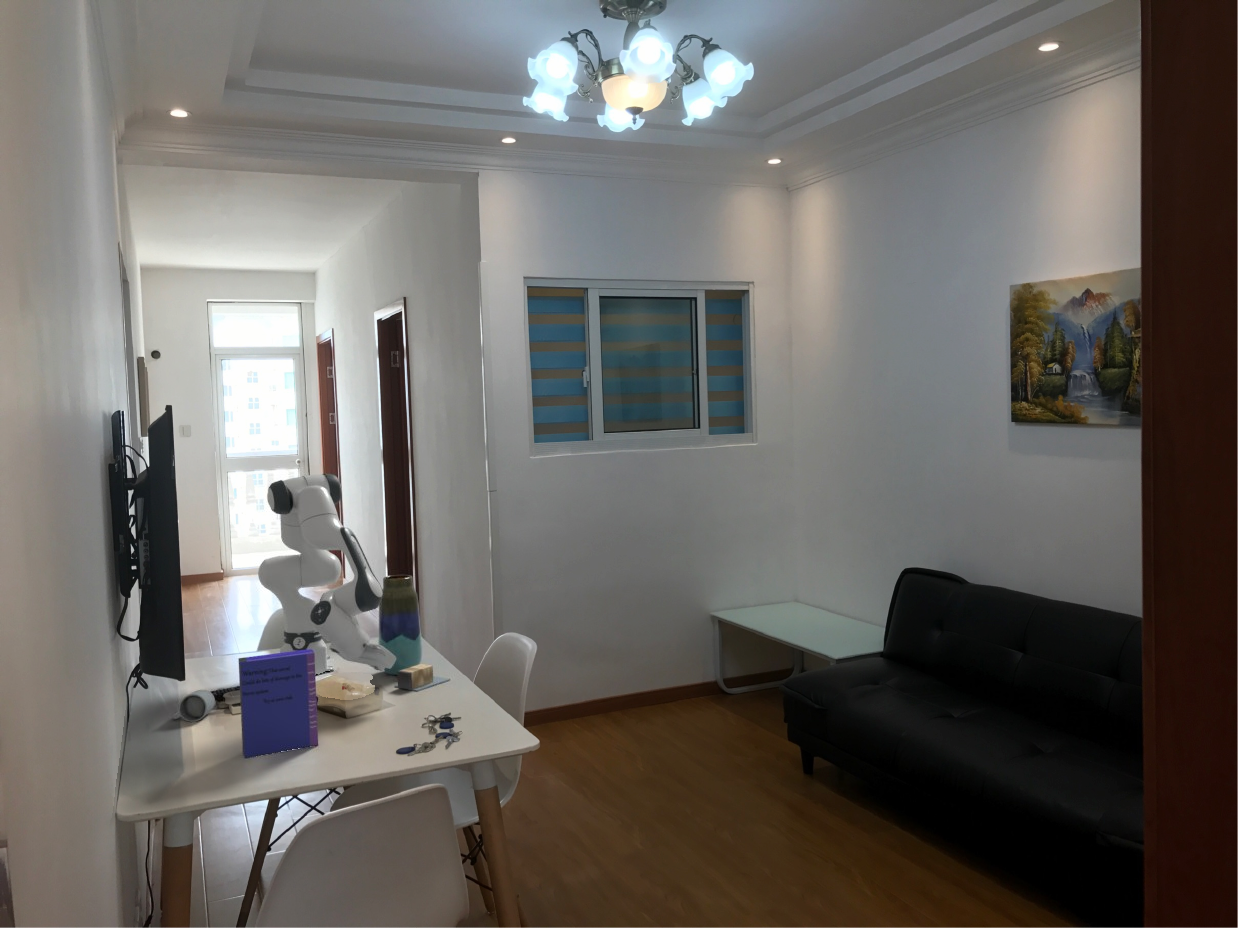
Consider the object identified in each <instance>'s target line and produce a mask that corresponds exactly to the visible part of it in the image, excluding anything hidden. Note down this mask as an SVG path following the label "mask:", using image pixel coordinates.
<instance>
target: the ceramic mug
mask: <svg viewBox="0 0 1238 928" xmlns="http://www.w3.org/2000/svg"><path fill="white" fill-rule="evenodd" d="M215 703H216V699H215V696H214V694H213V693H212V692H211V691H210V690H207V689H198V690H195V691H193V692H190V693H189V694H187V695H186V696H184V697H183V698H181V700H180V702H179V705H178V711H176V712H174V713H173V714H172V715H171V717H172V718H173V720H177V719H179V718H182V719H183V720H184V721H187V722H190V723H193V722H194V723H195V722H199V721H201V720H202V719H203V718H204V717H206V716H207V715H208V714H209V713H211V712H212V710H213V709H214V707H215Z"/></svg>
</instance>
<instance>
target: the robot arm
mask: <svg viewBox="0 0 1238 928" xmlns="http://www.w3.org/2000/svg"><path fill="white" fill-rule="evenodd" d="M342 492H343V490H342V485H341V482H340V479H339V478H338V477H337V476H336V475H335V474H332V473H322V474H307V475H302V476H297V477H292V478H288V479H285V480H284V479H283V480H282V479H280V480H277V481H274V482H272V483H270V484H269V486H268V489H267V496H266V497H267V498H266V499H267V503H268V505H269V507H270V509H271V511H272V512H273V513H275V514H276V515H280V518H279V519H280V534H281V535H280V538H281V542H282V543H283V544H284V546H286V547H287V548H289V549H290V550H293V551H295V552H298V553H299V554H288V555H277V556H273V557H269V558H265V559H264V560H263V561H262V562H261V563H260V565H259V568H258V573H257V574H258V575H257V576H258V580H259V583H260V584H261V585H262V586H263V588H265V589H267V590H269V591H270V592H271V593H272V594H273V595H275V597H276V598H277V599H278V601H279V603H280V605H281V608H282V611H283V619H284V631H283V642H284V644H283V645H282V646H281V647H280V649H279V653H284V652H292V651H299V650H307V649H312V650H313V651H314V654H315V676H317V675H316V674H318V675H321V674H320V673H322V674H324V673H323V672H325V671H329V670H333V669H334V670H335V659H334V657H330V656H329V655H328V649H329V650H330V652H332V653H335V654H337V655H338V656H339V657H341V658H342V659H343V660H346V661H348V662H351V663H358V664H363V665H367V666H369V667H371V668H373V669H374V670H375V671H380V672H385V670H384V669H385V668H389V669H390V668H392V666H393V665H394V663H395V661H396V657H395V656H394V655H393V654H392V653H391V652H389V651H388V650H387V649H386V648H384V647H383V646H381V645H378V644H376V643H371V642H370V636H369V634H368V633H367V632H366V630H364V629H363V628H362V627H361V626H360V625H359V624H357V623H356V622H354V621H353V620H352V619H353V617H355V616H356V617H357V616H358V615H360V614H362V613H367V612H369V611H373V610H376V609H377V608H379V604H380V603H381V600H382V597H383V590H382V589H383V586H382V585H381V583H380V582H379V580H378V579H377V577H376V576H375V574H374V571H373V569H372V567H371V566H370V564H369V562H368V559H367V557H366V555H365V552H364V549H363V548H362V546H361V544H360V542H359V540H358V537H356V536H357V535H355V533H354V532H353V531H352V529H350V528H348V527H344V525H343V524H342V523H341V521H340V518H339V515H338V512H337V509H336V505H338V504H339V503H340V501H341V500H342ZM330 551H341V552H343V554H344V556H345V558H346V559H347V562H348V564H349V566H350V568H351V571H352V573H353V579H352V580H351V581H349V582H347V583H344V584H341V585H340V586H339V585H338V586H336V587H334V588H332V589H329V590H327V591H325V592H324V593H323V594H322V595H321V597H320V599H319V602H316V601H315V600H314V599H311V598H309V597H307V596H303V595H302V594H301V593H300V591H299V590H300V589H303V588H315V587H324V586H327V585H332V584H335V583H337V582H338V580H339V579H340V577H341V574H342V571H343V570H342V564H341V561H340V559H339V557H337V555H335V554H334V553H332V552H330ZM323 639H325V640H326V641H327V642H328V643H330V645H329V646H328V647H327V644H326V642H325V641H324V640H323ZM325 673H326V672H325Z"/></svg>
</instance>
